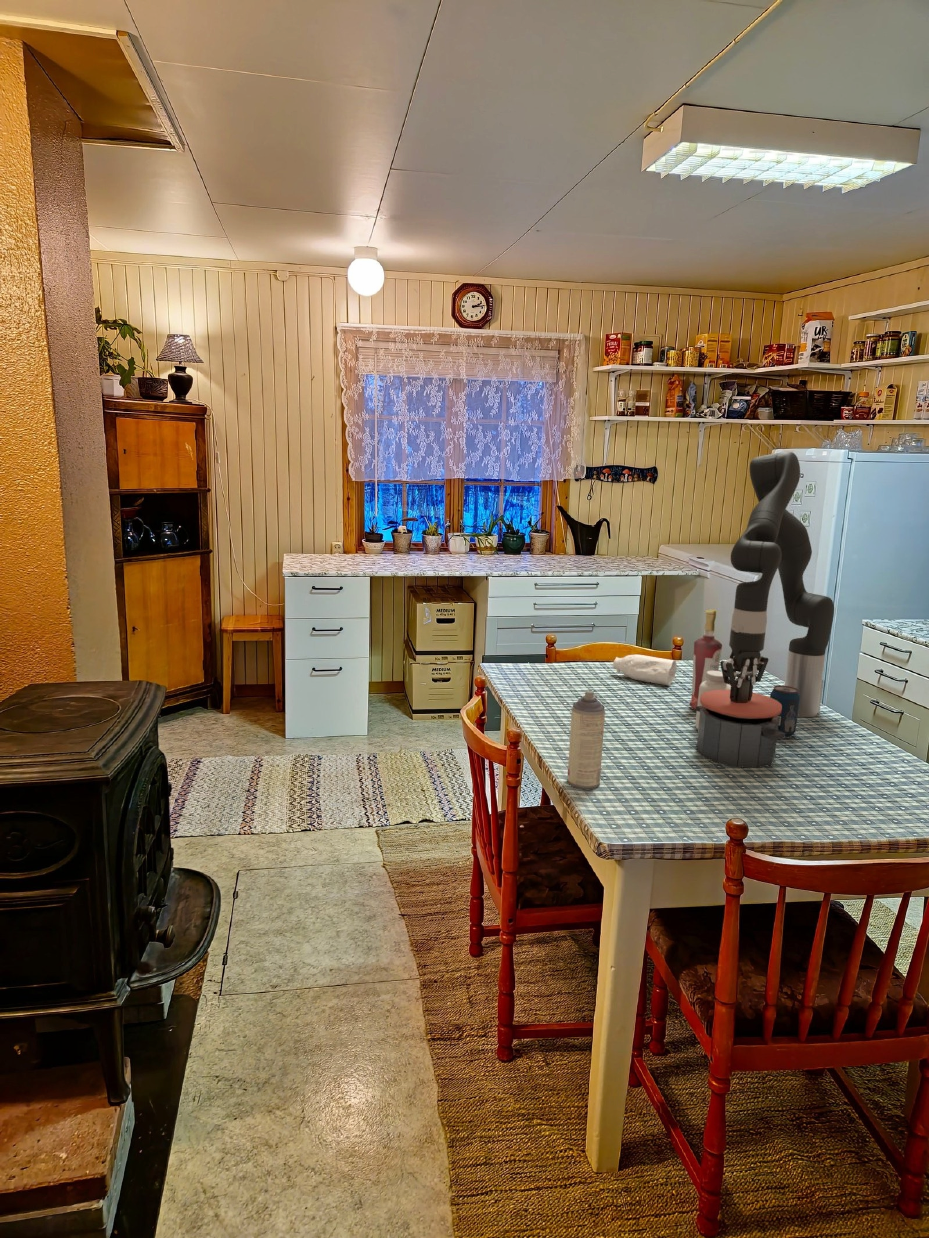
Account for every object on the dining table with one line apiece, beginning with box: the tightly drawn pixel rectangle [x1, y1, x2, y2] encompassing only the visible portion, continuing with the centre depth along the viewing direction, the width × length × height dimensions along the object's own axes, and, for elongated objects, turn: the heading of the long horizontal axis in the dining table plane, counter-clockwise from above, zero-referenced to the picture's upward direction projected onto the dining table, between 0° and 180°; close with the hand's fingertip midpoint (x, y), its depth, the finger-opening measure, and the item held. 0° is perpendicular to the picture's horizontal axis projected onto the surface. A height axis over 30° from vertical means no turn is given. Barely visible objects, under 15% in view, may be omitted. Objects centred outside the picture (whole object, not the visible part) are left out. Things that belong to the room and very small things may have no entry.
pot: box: [695, 705, 786, 769], centre depth 189 cm, size 17×23×10 cm
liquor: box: [689, 609, 723, 712], centre depth 220 cm, size 7×7×28 cm
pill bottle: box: [694, 670, 731, 730], centre depth 205 cm, size 8×8×15 cm
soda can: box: [769, 685, 800, 739], centre depth 204 cm, size 7×7×12 cm
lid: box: [700, 678, 782, 719], centre depth 187 cm, size 18×18×7 cm
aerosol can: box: [566, 690, 606, 790], centre depth 168 cm, size 7×7×20 cm
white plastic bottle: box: [612, 654, 678, 687], centre depth 250 cm, size 8×19×8 cm, turn 58°
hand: (740, 700), depth 188 cm, fingers closed on lid, 3 cm apart
